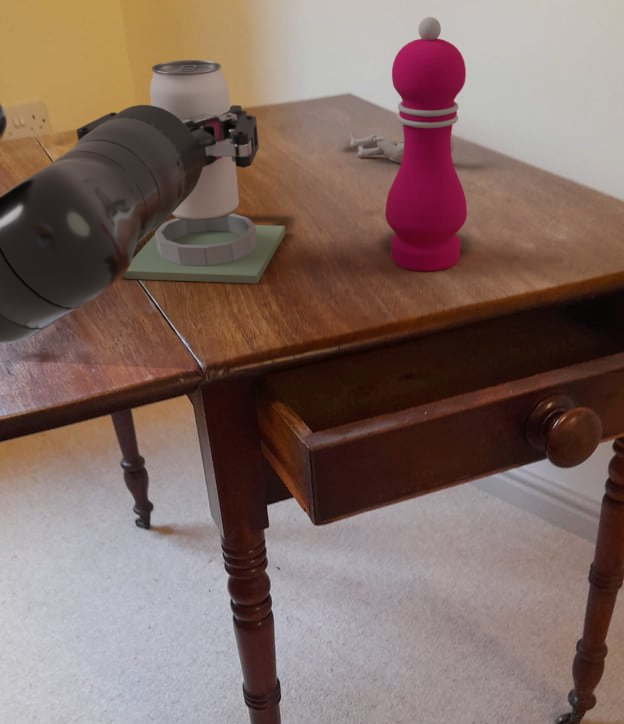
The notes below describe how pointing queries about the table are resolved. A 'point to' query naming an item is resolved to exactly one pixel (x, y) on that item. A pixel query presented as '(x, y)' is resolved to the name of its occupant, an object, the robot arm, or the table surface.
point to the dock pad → (210, 273)
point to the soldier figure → (381, 146)
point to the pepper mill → (427, 154)
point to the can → (192, 98)
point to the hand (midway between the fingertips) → (199, 116)
